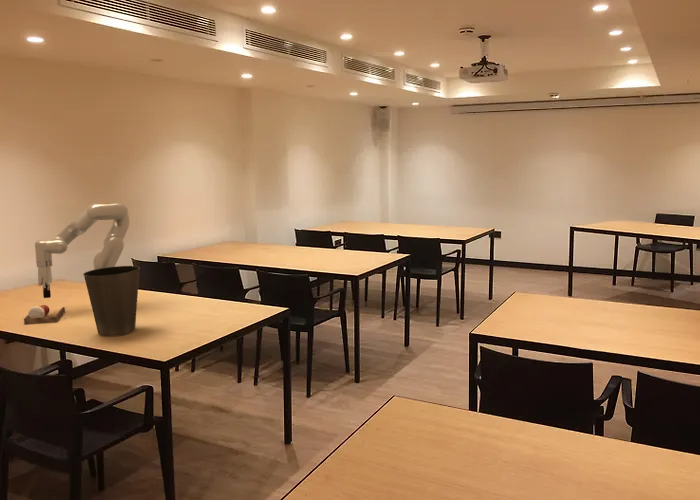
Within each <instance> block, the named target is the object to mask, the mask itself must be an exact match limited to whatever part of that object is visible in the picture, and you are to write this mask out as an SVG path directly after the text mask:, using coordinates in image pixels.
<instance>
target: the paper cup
mask: <svg viewBox="0 0 700 500" xmlns="http://www.w3.org/2000/svg"><path fill="white" fill-rule="evenodd" d="M50 311H51V310H50V307H49V306H48V305H46V304H42V305H37V306H36V305H35V306H32V307H31V308H29V311H28V313H27V315H29V317H30V318H36V317H47V316H48V314H49V313H50Z"/></svg>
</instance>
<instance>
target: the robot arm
mask: <svg viewBox="0 0 700 500" xmlns="http://www.w3.org/2000/svg"><path fill="white" fill-rule="evenodd" d="M128 212H129V210H128V207H127V206H126V205H125V204H123V203H121V202H112V203H107V204H99V203H91V204H89V205H88V206H86V208H85V209H84V210H82V211H81V213H80V214H78V216H77V217H76V218H74V219H73V220H72V221H71V222H70V223H69V224H68V225H67V226H65V228H64V229H62V230H61V231H60V232H59V233H58V234H57V235H56V236H55V237H54V238H53V239H52V240H48V239H47V240H46V239H42V240H41V239H40V240H36V241H35V242H34V249H35V261H36V262H35V263H36V268H37V281H38V287H41V286H42V295H43V299H49V298H51V297H52V296H51V284H52V282H53V275H52V274H53V273H52V267H53V256H52V255H53V254H54V255H55V254H57V255H58V254H59V255H60V254H64V253H65V252H66V251H67V250H68V245H69V244H71V243H72V242H73V241H74V240H75V239H76V238H77V237H79V236H81V235H83V234H85V233H87V231H88V230H90V228H91V227H92V226H93V225H94V224H95V223H96V222H98V221H109V220H111V221H112V225H111V227H110V228H109V230H108V232H107V234H106V236H105V238H104V240H103V248H102V250H101V252H97V253H96V255H94V257H93V270H95V269H101V268H107V267H116V264H118V263H117V262H118V261H119V259H120V256H121V255H122V252H123V250H124V247H125V243H124V238H125V237H126V234H127V232H128V229H129V227H130V215H129V213H128Z"/></svg>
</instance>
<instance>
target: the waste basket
mask: <svg viewBox="0 0 700 500" xmlns="http://www.w3.org/2000/svg"><path fill="white" fill-rule="evenodd" d="M140 269H141V267H140V266H137V265H120V266H116V265H115V266H114V267H107V268H101V269H95V270H94V269H91V270H89V271H85V272H84V273H83V277H84V280H85V285H86V288H87V293H88V296H89V297H88V298H89V301H90V306H91V309H92V315H93V318H94V321H95V326H96V330H97V334H98V335H99V336H102V337H119V336H126V335H129V334H131V333H133V332H135V330H136V321H137V308H138V294H139V293H138V292H139V281H140V280H139V278H140Z"/></svg>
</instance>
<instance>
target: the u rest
mask: <svg viewBox="0 0 700 500" xmlns="http://www.w3.org/2000/svg"><path fill="white" fill-rule="evenodd" d="M65 313H66V307H65V306H63V307H61V308H60V309H59V311H58V312H57V313H56V314H55V315H53V316H45V317H36V318H30V317H29V315H28V314H27V315H26V316H25V317H24V318H23V323H24V324H23V325H37V324H54V323H58V322H59V320H61V318H62V317H63V316H64V315H65Z"/></svg>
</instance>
